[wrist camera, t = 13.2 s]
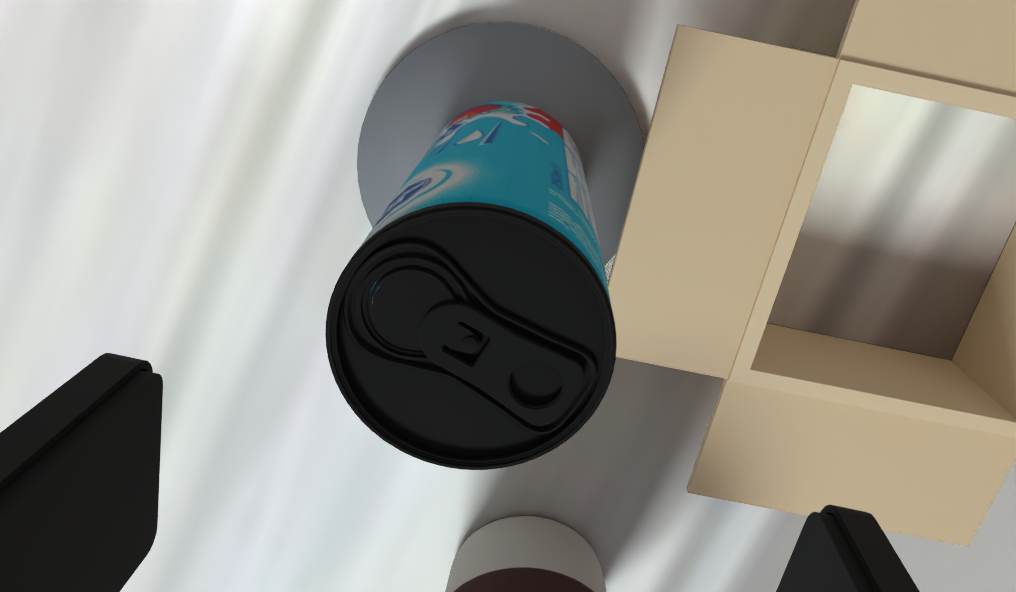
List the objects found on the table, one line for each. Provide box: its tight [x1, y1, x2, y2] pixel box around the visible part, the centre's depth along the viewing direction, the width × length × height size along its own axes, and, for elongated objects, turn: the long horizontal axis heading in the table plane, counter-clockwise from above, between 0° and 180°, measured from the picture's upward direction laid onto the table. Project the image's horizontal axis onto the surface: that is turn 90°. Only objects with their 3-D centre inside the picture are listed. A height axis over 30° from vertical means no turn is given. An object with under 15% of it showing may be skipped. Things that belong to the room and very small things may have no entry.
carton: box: [608, 0, 1016, 547], centre depth 28 cm, size 21×21×5 cm
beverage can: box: [326, 101, 617, 470], centre depth 23 cm, size 6×6×15 cm
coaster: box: [357, 22, 644, 266], centre depth 30 cm, size 11×11×1 cm
